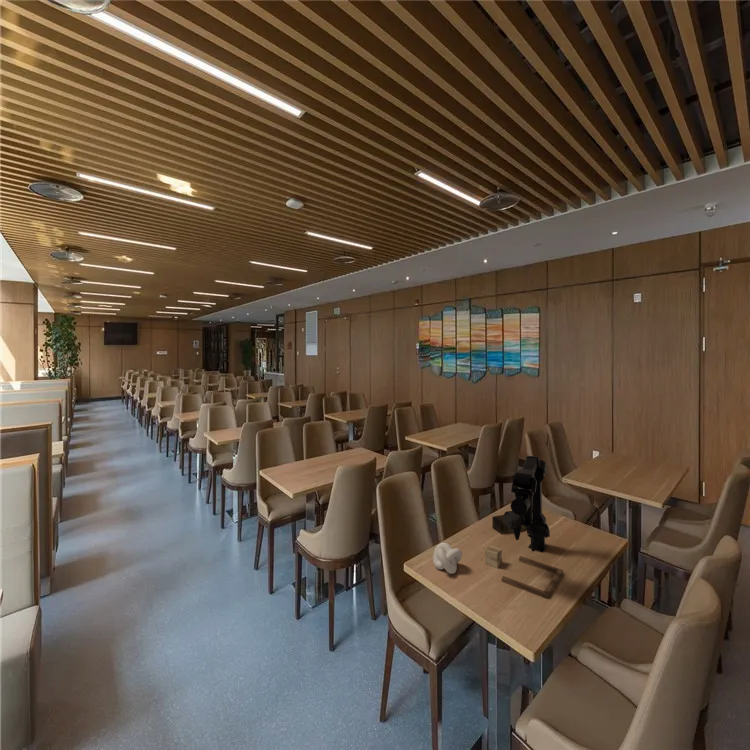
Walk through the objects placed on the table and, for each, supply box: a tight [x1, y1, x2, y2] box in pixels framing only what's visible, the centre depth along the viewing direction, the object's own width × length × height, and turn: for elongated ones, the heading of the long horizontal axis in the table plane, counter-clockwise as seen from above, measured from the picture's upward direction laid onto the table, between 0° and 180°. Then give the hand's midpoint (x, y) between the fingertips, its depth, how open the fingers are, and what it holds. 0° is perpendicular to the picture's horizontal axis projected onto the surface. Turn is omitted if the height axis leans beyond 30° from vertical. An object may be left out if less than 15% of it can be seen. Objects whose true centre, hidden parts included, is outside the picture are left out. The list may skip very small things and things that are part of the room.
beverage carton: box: [491, 514, 527, 535], centre depth 185 cm, size 8×19×7 cm, turn 107°
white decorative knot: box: [432, 542, 463, 575], centre depth 151 cm, size 11×12×9 cm
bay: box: [501, 556, 564, 600], centre depth 143 cm, size 20×16×2 cm
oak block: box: [484, 545, 503, 569], centre depth 153 cm, size 5×5×6 cm
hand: (525, 545), depth 142 cm, fingers open, 9 cm apart
